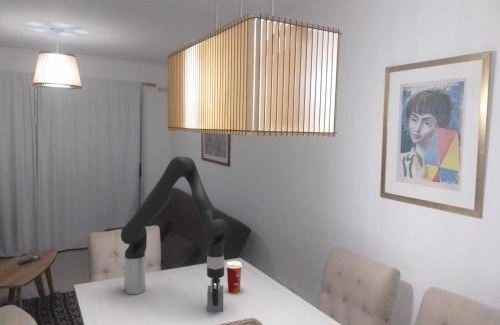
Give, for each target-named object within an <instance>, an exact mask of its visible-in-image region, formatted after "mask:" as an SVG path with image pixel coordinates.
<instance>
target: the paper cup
mask: <svg viewBox="0 0 500 325" xmlns="http://www.w3.org/2000/svg"><path fill="white" fill-rule="evenodd" d="M225 266H226V272H227V273H226V275H227V276H226V277H227V278H226V279H227V289H228V290H227V291H228V293H230V294H238V293H240V292H241V281H242V266H243V265H242V263H241V262H240V261H238V260H230V261H228V262H227V263H226V265H225Z"/></svg>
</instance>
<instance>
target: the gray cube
mask: <svg viewBox="0 0 500 325" xmlns="http://www.w3.org/2000/svg"><path fill="white" fill-rule="evenodd" d="M206 291H207V292H206V293H207V296H206V297H207V300H206V302H207V303H206V304H207V306H206V307H207V309H206V310H207V313H213V312H217V313H218V312H224V285H221V284H220V286H219V292H218V295H219V296H218V306H213V298H212V291H211V285H207V289H206ZM214 295H217V292H214Z"/></svg>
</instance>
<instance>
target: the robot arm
mask: <svg viewBox="0 0 500 325" xmlns="http://www.w3.org/2000/svg"><path fill="white" fill-rule="evenodd" d="M181 178H184V179H185V180H186V182H187V183H188V184H189V187H190V192H191V198H192V199H191V200H192V203H193V205H194V207H195V210H196V211H197V213H198V215H199V218H200V222H201V227H202V230H203V232H204V234H205V235H206V236H207V237H208V238H211V240H210V241H209V242H208V243H207V258H206V276H207V277H208V278H210V286H211V291H212V298H213V306H218V296H219V295H218V292H219V286H220V285H221V278H223V277H225V257H224V256H225V255H224V251H225V250H224V247H225V246H224V245H225V242H226V237H227V234H228V233H227V232H228V226H227V223H226V221H225V220H224V219H222V218H217V219H214V218H213V215H214V214H215V213H216V211H215V210H216V209H215V207H214V206H213V203H212V201H211V200H210V198H209V196H208V194H207V192H206V190H205V188H204V185H203V182H202V179H201V176H200V174H199V171H198V168H197V165H196V162H195V161H194V159H193V158H191V157H189V156H183V155H182V156H175V157H173V158H172V159H171V160H170V161H169V163H168V165H167V166H166V168H165V170H164V171H163V174H162V175H161V177H160V178H159V180H158V181H157V183H155V186H154V187H153V188H152V190H150V192H149V193H148V195H147V197H146V198H145V199H144V201H143V202H142V204H141V205H140V206H139V208H138V210H137V211H136V213H135V214H134V215H133V217H132V218H130V220H129V221H128V222H127V223H126V224H125V226H123V228H122V230H121V231H120V239H121V241H122V243H124V244H126V245H128V246H127V248H126V249H125V251H124V271H123V274H124V275H123V278H124V280H123V281H124V282H123V283H124V288H123V290H124V291H125V293H126V294H128V295H138V294H143V293H144V292H145V291H146V256H145V254H146V250H147V243H148V242H147V238H148V237H147V236H148V235H147V228H146V226H147V225H148V224H149V223H150V222H151V221H153V220H154V219H155V218H156V217H157V216H159V215H160V213H161V212H162V211H163V210H164V208H165V207H166V206H167V205H168V203H169V201H170V199H171V195H172V194H171V193H172V189H173V188H174V185H175V184H176V183H177V182H178V181H179V180H180V179H181ZM214 292H217V295H214Z"/></svg>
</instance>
